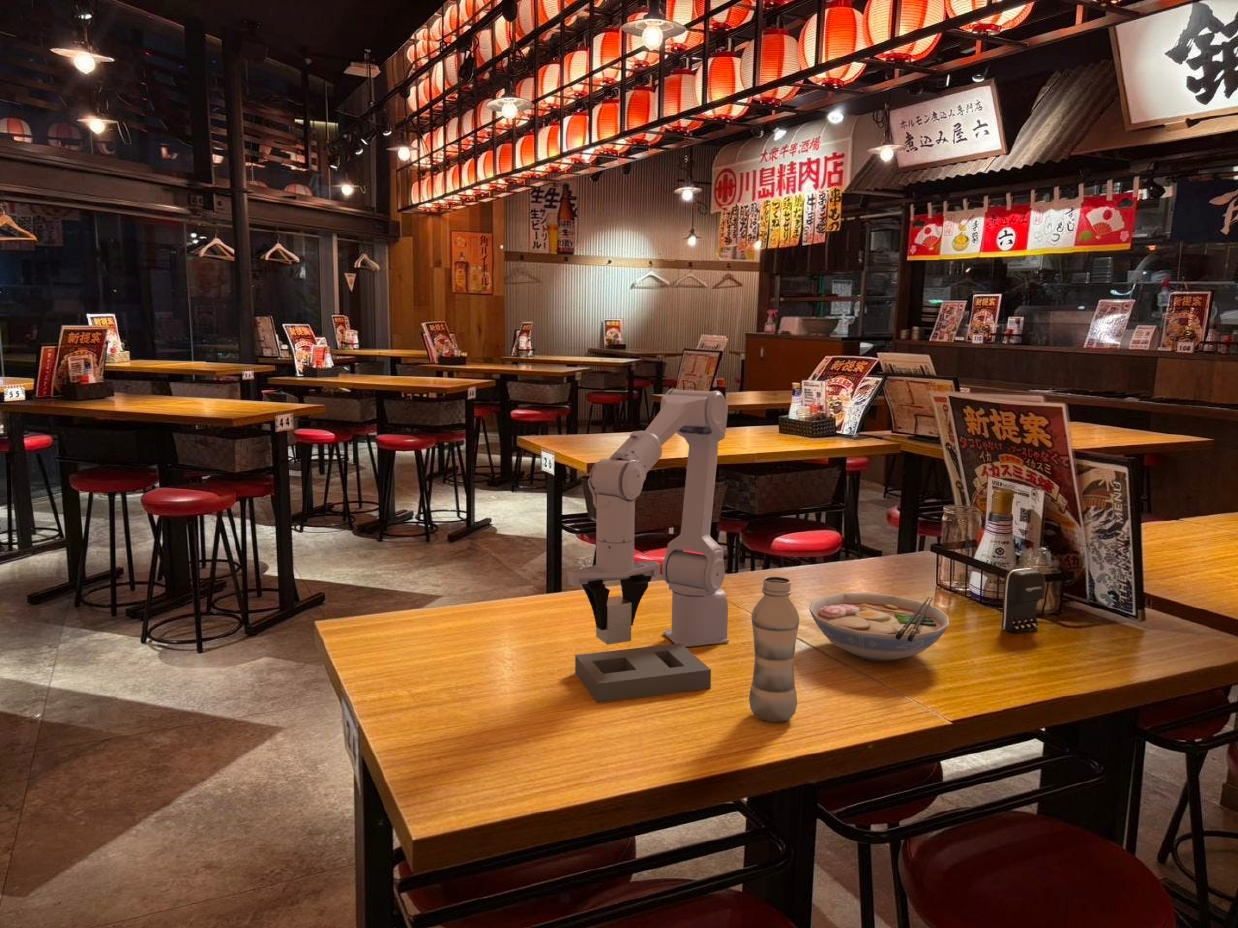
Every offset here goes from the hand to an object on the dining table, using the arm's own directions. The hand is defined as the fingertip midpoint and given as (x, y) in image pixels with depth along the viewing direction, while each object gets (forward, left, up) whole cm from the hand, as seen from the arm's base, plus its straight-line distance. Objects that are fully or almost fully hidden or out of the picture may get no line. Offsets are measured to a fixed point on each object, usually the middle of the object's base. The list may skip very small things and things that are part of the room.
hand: (614, 626), depth 132 cm
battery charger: (-80, -1, -10) cm, 80 cm away
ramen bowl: (-47, +1, -10) cm, 48 cm away
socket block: (-5, 0, -9) cm, 10 cm away
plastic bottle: (-18, +18, -10) cm, 27 cm away
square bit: (0, 0, -2) cm, 2 cm away
